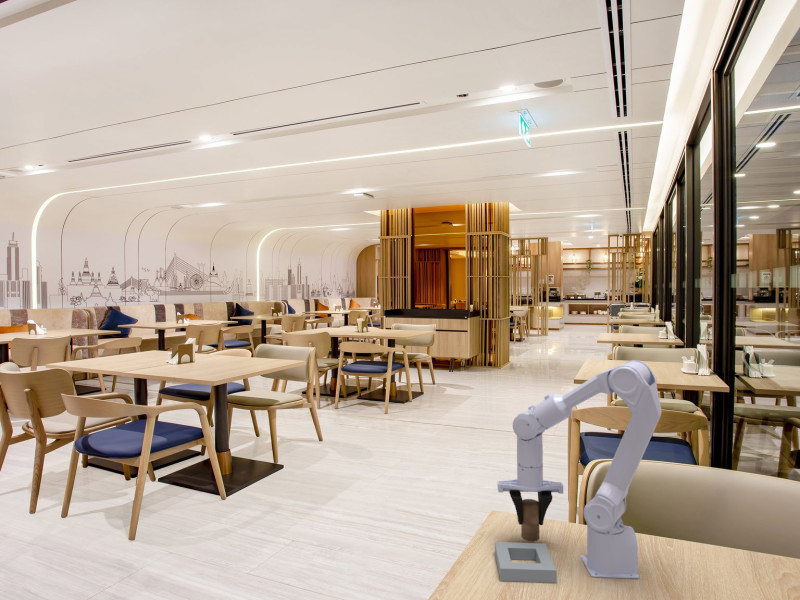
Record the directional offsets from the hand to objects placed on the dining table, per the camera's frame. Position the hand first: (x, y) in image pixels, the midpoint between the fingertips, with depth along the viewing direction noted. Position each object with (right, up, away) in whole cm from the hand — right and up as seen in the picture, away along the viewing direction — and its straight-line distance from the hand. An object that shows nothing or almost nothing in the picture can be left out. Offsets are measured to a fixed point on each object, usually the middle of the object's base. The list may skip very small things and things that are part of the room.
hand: (530, 523), depth 118 cm
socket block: (-4, -5, -10) cm, 11 cm away
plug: (0, -3, 0) cm, 3 cm away
